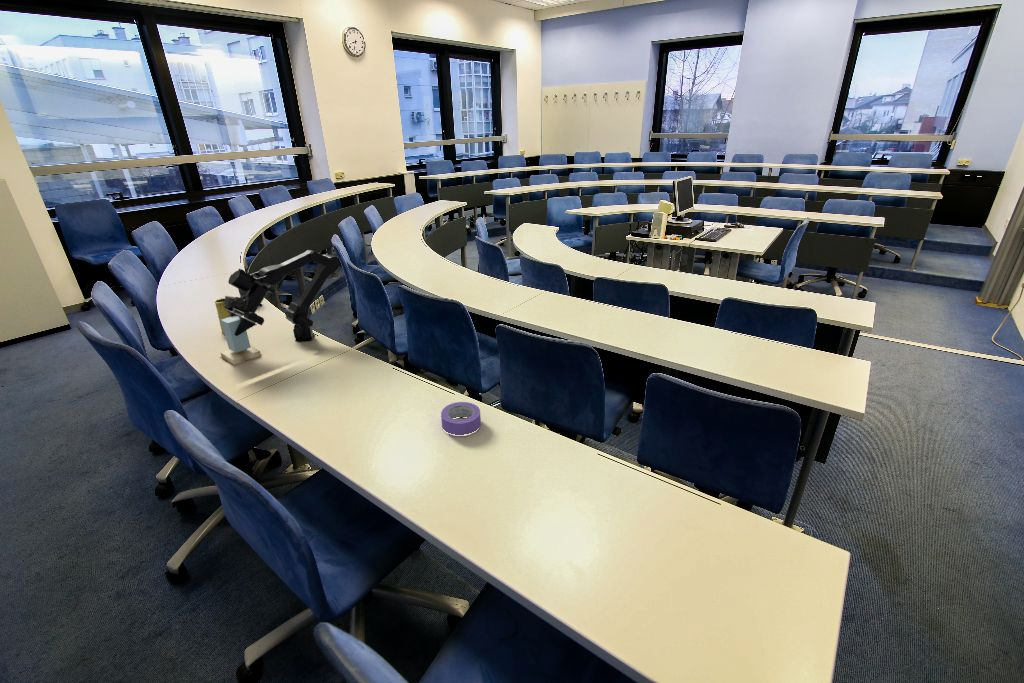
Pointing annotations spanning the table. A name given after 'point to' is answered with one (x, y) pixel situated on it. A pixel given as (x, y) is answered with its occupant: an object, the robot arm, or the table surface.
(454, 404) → the tape roll
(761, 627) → the table surface
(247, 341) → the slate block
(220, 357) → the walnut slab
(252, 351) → the birch slab
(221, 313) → the vase
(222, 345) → the table surface
